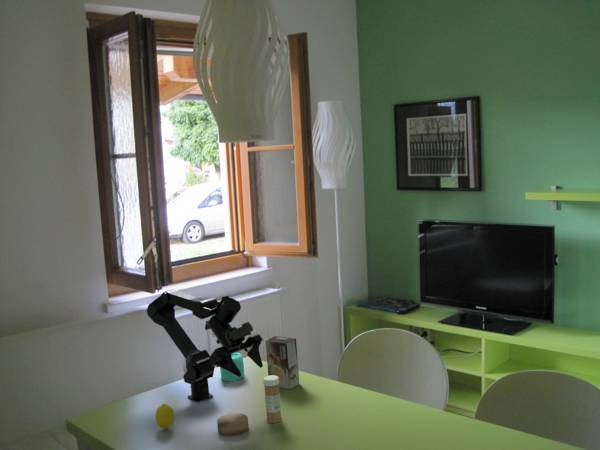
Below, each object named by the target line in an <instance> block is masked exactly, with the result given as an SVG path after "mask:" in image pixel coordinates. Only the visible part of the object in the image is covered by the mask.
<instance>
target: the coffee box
mask: <svg viewBox="0 0 600 450" xmlns="http://www.w3.org/2000/svg"><path fill="white" fill-rule="evenodd" d="M265 353H266V363H267V366H266V367H267V374H268V375H267V376H270V375H275V376H278V378H279V389H285V390H292V389H293V388H295V387H297V386H298V385H299V384H300V374H299V373H300V372H299V361H298V347H297V338H294V337H287V336H286V337H285V336H278V335H277V336H276V335H275V336H272V337H270V338H268V339H267V340H265Z"/></svg>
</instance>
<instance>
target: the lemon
mask: <svg viewBox="0 0 600 450" xmlns="http://www.w3.org/2000/svg"><path fill="white" fill-rule="evenodd" d="M172 407H173V406H171V405H169V404H166V403H162V404H161V405H159V406H158V407H157V409H156V411H155V421H156V424H157V426H158V427H159V428H160V429H161V428H162V429H164V430H168V429H169V428H170V427H171V426H173V425H174V422H175V418H176V416H175V411H174V409H173V408H172Z"/></svg>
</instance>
